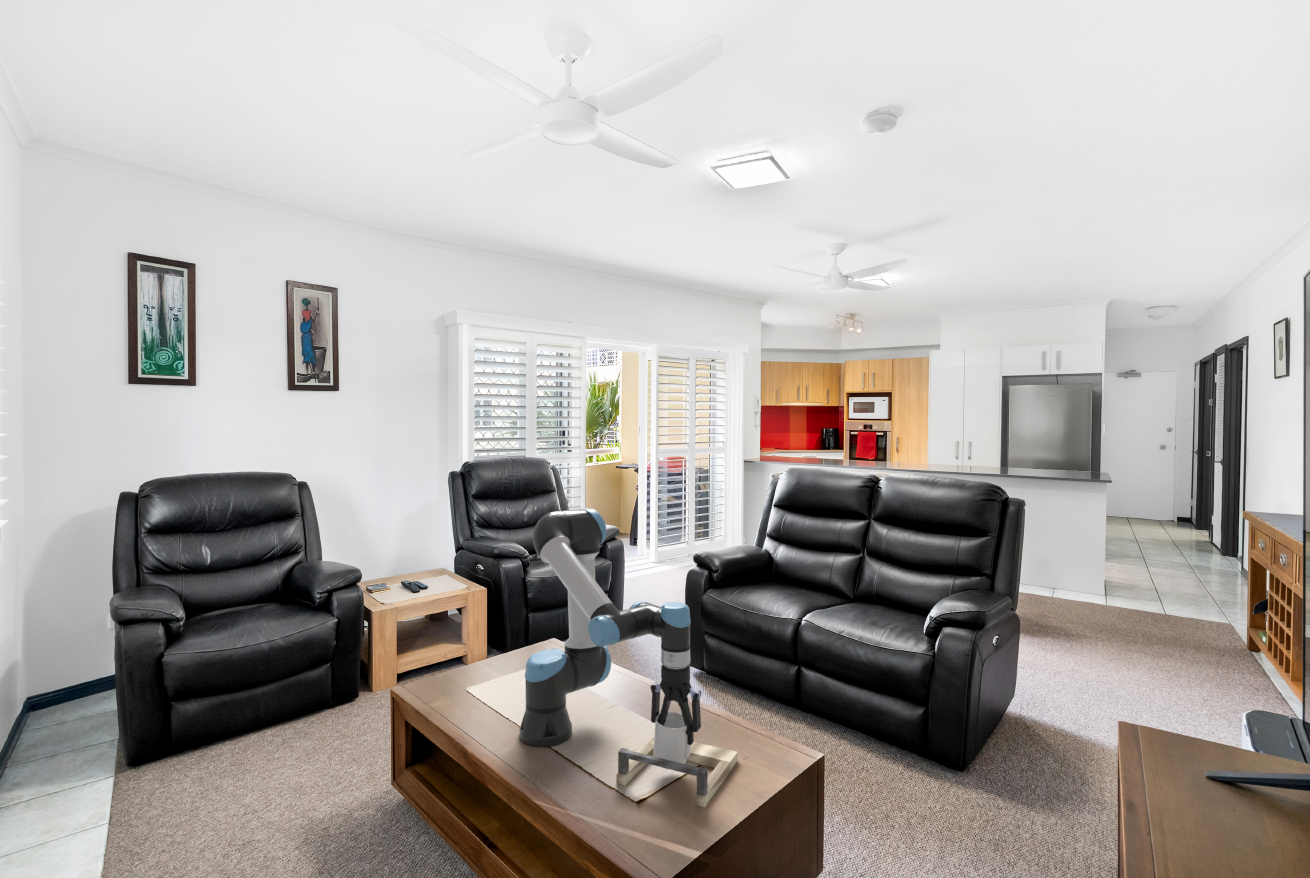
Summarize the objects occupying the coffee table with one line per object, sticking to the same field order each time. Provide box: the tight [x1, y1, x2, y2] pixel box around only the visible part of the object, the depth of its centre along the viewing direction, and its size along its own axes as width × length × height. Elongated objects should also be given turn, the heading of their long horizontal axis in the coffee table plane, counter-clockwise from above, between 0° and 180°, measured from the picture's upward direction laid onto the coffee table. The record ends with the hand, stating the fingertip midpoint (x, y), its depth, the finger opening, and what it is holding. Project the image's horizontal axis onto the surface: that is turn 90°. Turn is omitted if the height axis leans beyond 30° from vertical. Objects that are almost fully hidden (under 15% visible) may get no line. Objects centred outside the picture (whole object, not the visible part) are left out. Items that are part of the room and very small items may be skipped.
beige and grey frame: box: [615, 737, 739, 809], centre depth 169 cm, size 24×24×8 cm
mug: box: [653, 711, 693, 770], centre depth 168 cm, size 12×9×11 cm
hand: (675, 753), depth 167 cm, fingers closed on mug, 6 cm apart
